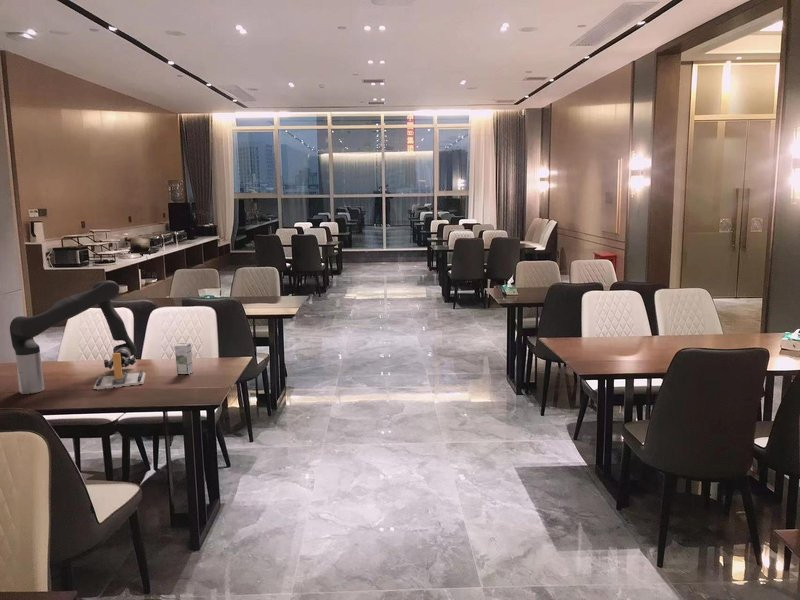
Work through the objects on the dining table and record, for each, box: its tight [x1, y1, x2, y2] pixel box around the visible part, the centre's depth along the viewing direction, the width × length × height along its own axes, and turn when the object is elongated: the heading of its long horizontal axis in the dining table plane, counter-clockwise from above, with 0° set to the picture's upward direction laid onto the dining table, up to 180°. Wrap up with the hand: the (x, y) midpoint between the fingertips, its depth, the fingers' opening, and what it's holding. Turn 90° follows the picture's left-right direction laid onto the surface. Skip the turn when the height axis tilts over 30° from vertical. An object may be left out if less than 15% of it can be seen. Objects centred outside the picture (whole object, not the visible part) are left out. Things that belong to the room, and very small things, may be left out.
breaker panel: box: [93, 370, 146, 390], centre depth 289 cm, size 20×18×3 cm
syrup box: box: [174, 342, 194, 375], centre depth 299 cm, size 6×6×14 cm
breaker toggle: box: [111, 353, 125, 381], centre depth 283 cm, size 5×3×12 cm, turn 108°
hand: (117, 365), depth 284 cm, fingers open, 5 cm apart
